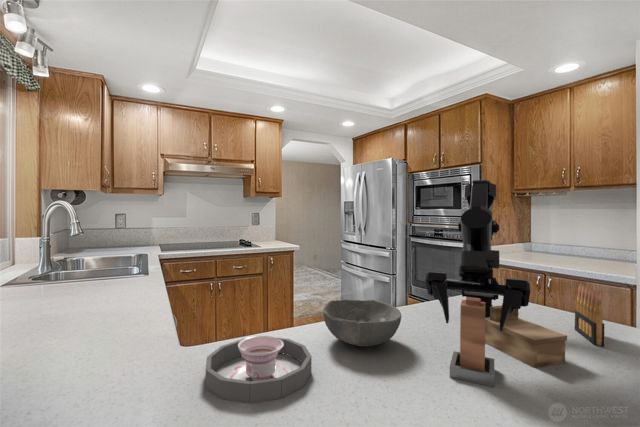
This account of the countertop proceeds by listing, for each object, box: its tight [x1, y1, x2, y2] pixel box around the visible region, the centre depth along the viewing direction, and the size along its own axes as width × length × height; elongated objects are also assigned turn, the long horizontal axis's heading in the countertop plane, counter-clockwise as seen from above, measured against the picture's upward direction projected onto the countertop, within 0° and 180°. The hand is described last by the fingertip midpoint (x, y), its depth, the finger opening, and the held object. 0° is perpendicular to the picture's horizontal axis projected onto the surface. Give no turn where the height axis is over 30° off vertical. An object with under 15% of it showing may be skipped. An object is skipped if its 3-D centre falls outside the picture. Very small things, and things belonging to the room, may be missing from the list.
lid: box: [485, 305, 568, 345], centre depth 71 cm, size 13×8×4 cm, turn 17°
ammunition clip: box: [574, 283, 605, 347], centre depth 79 cm, size 11×2×12 cm, turn 162°
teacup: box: [225, 335, 293, 381], centre depth 59 cm, size 12×12×6 cm
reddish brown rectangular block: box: [459, 297, 486, 372], centre depth 61 cm, size 4×4×14 cm
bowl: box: [322, 299, 402, 347], centre depth 76 cm, size 18×18×8 cm
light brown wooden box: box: [485, 324, 566, 369], centre depth 71 cm, size 13×8×4 cm, turn 17°
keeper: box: [449, 350, 496, 388], centre depth 61 cm, size 7×7×2 cm
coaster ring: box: [205, 337, 312, 404], centre depth 61 cm, size 19×19×3 cm
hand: (473, 326), depth 62 cm, fingers open, 9 cm apart
